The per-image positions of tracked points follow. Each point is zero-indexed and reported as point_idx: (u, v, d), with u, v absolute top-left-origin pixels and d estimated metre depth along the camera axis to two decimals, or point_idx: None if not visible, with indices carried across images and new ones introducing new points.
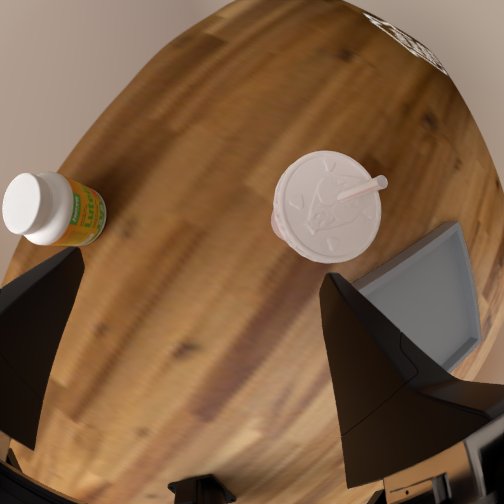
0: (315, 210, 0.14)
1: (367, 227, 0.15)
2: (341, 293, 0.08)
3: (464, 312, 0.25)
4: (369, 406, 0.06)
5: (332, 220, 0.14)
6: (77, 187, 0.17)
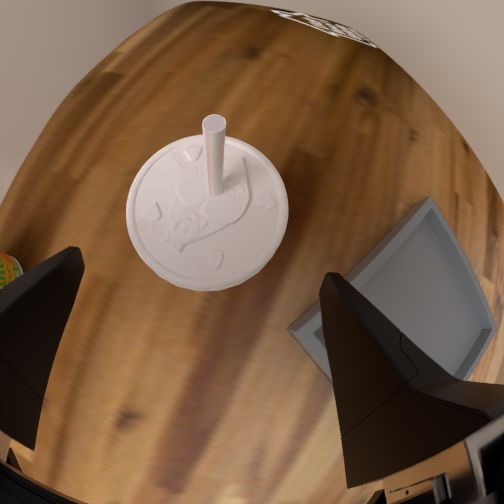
0: (176, 217, 0.10)
1: (267, 222, 0.10)
2: (341, 293, 0.08)
3: (467, 303, 0.20)
4: (369, 406, 0.06)
5: (204, 225, 0.10)
6: None
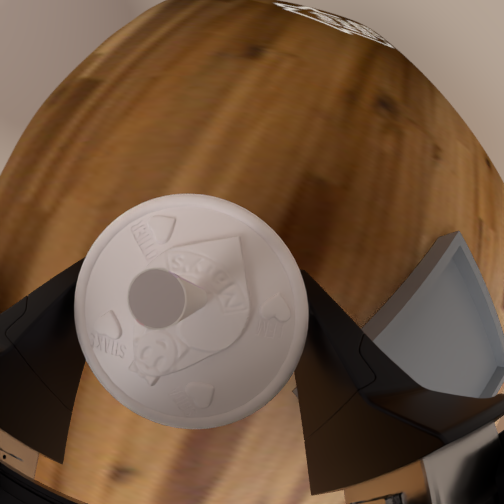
0: (141, 339, 0.06)
1: (277, 343, 0.07)
2: None
3: (485, 343, 0.17)
4: (326, 411, 0.06)
5: (183, 353, 0.06)
6: None
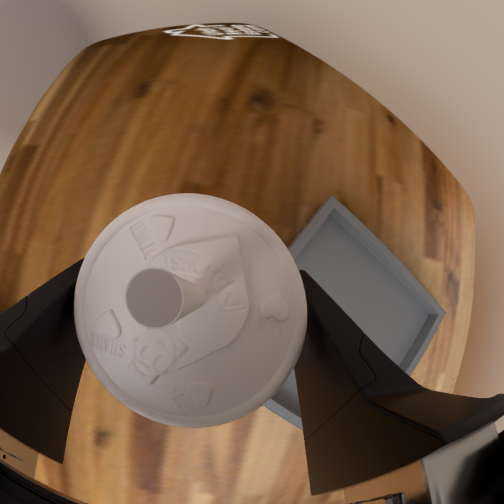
0: (141, 338, 0.06)
1: (276, 342, 0.07)
2: None
3: (402, 293, 0.23)
4: (326, 411, 0.06)
5: (182, 352, 0.06)
6: None
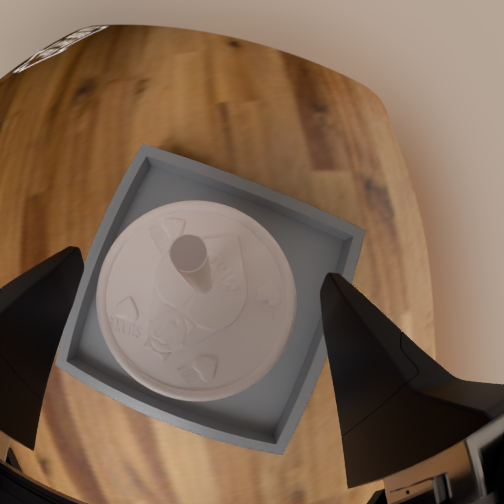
0: (156, 319, 0.07)
1: (270, 323, 0.08)
2: (342, 293, 0.08)
3: (286, 224, 0.19)
4: (370, 406, 0.06)
5: (191, 330, 0.07)
6: None
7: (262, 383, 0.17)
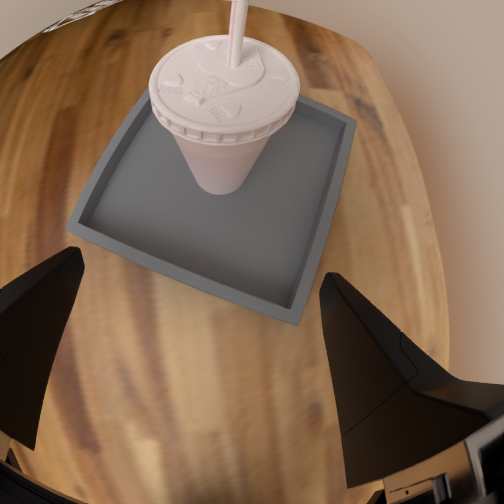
0: (197, 80, 0.09)
1: (281, 89, 0.10)
2: (341, 293, 0.08)
3: None
4: (369, 406, 0.06)
5: (223, 85, 0.09)
6: None
7: (273, 244, 0.18)
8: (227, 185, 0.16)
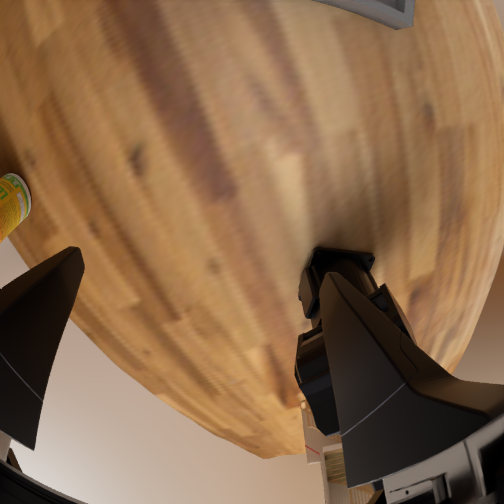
0: None
1: None
2: (341, 293, 0.08)
3: None
4: (369, 406, 0.06)
5: None
6: None
7: None
8: None
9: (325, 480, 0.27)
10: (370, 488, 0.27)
